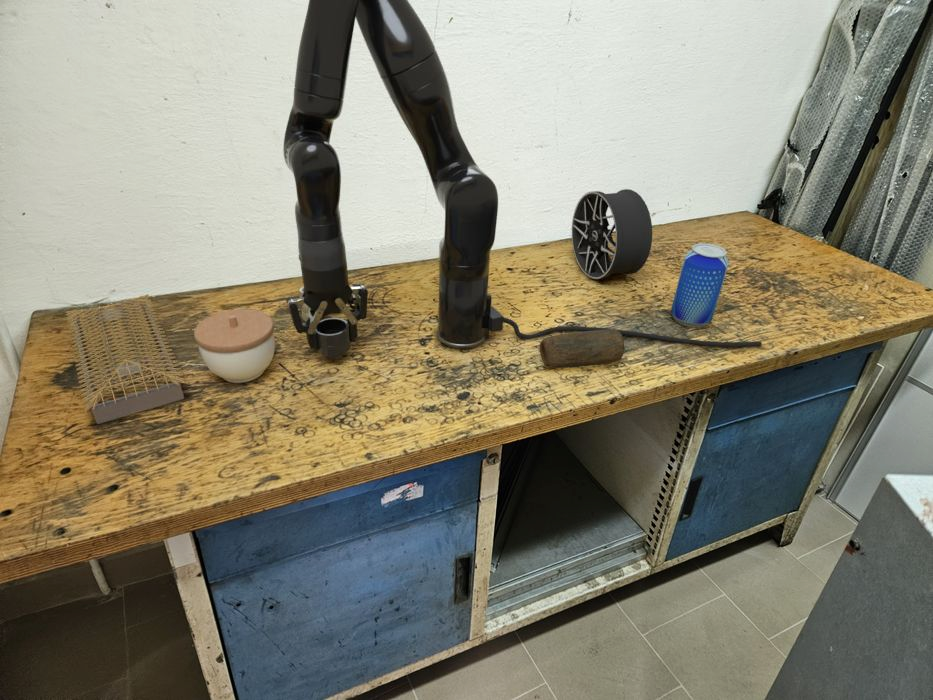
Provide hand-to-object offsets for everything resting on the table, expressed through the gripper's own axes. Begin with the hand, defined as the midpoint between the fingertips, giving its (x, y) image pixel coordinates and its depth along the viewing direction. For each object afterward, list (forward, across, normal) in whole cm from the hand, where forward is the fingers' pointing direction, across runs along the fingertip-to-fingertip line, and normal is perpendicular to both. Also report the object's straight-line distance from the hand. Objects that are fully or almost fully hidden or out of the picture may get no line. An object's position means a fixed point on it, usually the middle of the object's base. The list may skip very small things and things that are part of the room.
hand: (333, 343), depth 107 cm
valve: (+3, +4, +15) cm, 16 cm away
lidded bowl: (+3, -16, +2) cm, 16 cm away
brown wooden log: (+4, +40, -20) cm, 45 cm away
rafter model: (+3, -34, +14) cm, 37 cm away
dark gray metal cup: (+1, 0, 0) cm, 1 cm away
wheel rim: (+4, +70, +10) cm, 70 cm away
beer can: (+4, +72, -16) cm, 74 cm away
